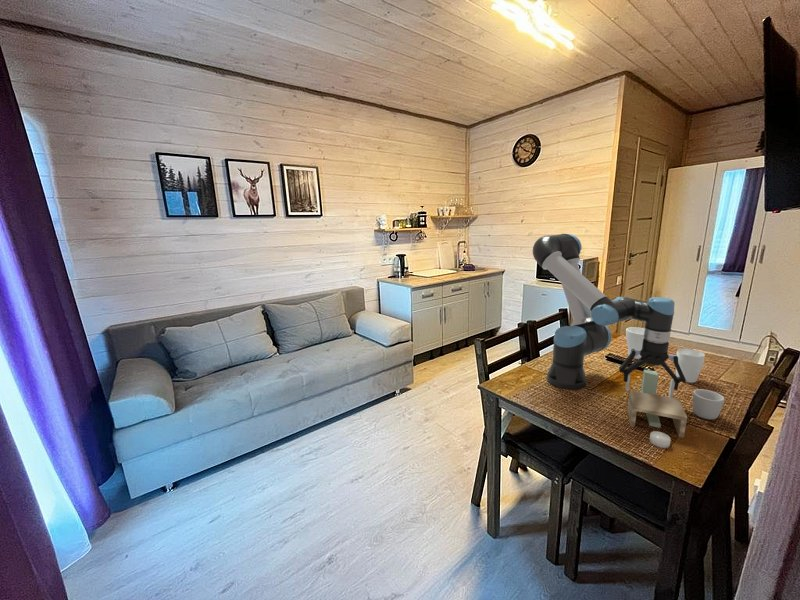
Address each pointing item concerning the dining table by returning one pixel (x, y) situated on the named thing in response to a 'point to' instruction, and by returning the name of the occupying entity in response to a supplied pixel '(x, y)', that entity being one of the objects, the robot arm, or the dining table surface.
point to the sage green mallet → (650, 387)
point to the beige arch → (657, 408)
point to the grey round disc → (660, 439)
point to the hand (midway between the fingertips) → (648, 393)
